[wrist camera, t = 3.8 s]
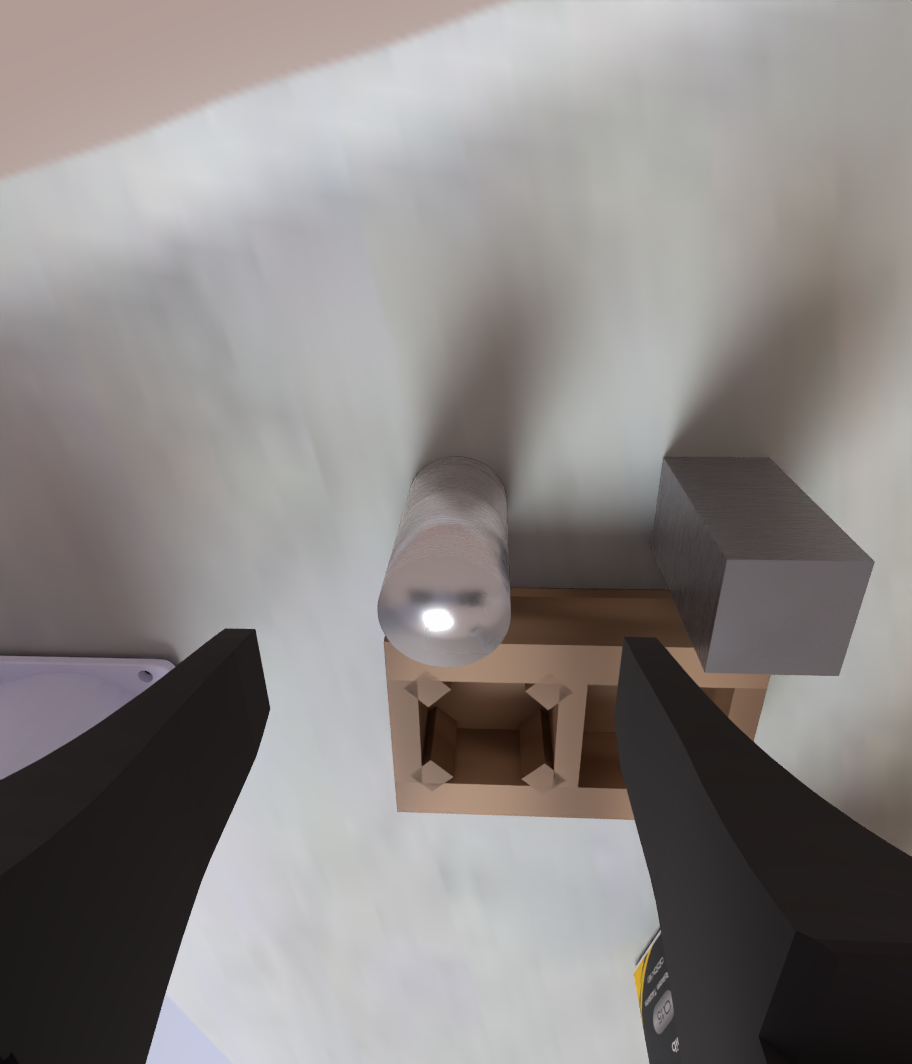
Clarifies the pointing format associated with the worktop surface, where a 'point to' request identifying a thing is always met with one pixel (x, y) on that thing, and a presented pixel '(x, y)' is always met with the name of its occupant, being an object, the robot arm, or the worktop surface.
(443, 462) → the round bit
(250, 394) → the worktop surface
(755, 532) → the square bit
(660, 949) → the medicine bottle
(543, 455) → the worktop surface
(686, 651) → the socket block
